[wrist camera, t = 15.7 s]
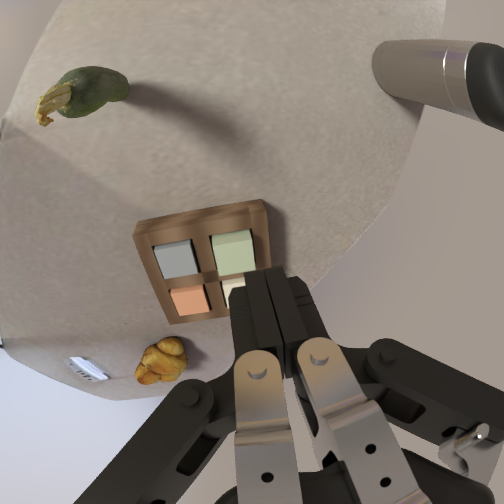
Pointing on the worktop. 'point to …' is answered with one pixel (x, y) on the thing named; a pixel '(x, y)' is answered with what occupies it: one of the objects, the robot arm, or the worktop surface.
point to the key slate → (177, 258)
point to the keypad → (201, 251)
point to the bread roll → (162, 362)
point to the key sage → (233, 252)
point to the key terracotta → (190, 299)
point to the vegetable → (82, 93)
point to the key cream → (231, 286)
